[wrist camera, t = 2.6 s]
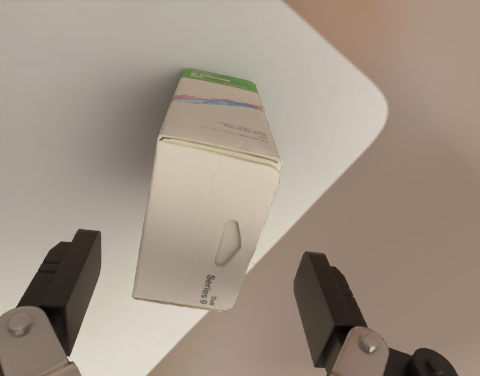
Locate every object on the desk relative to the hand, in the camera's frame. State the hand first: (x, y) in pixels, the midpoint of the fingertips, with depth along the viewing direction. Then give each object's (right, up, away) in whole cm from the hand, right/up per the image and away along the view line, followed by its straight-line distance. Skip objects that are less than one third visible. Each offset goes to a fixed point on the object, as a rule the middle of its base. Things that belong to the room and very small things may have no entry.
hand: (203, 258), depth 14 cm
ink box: (-1, +7, +11) cm, 13 cm away
